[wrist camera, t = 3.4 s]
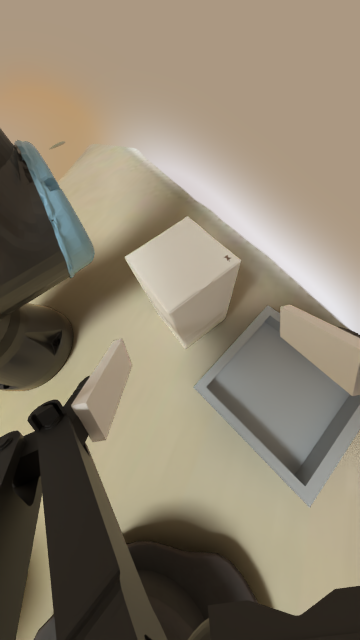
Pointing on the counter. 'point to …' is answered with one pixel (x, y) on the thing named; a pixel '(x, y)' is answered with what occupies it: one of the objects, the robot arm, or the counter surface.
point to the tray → (282, 406)
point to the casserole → (179, 587)
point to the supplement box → (186, 278)
